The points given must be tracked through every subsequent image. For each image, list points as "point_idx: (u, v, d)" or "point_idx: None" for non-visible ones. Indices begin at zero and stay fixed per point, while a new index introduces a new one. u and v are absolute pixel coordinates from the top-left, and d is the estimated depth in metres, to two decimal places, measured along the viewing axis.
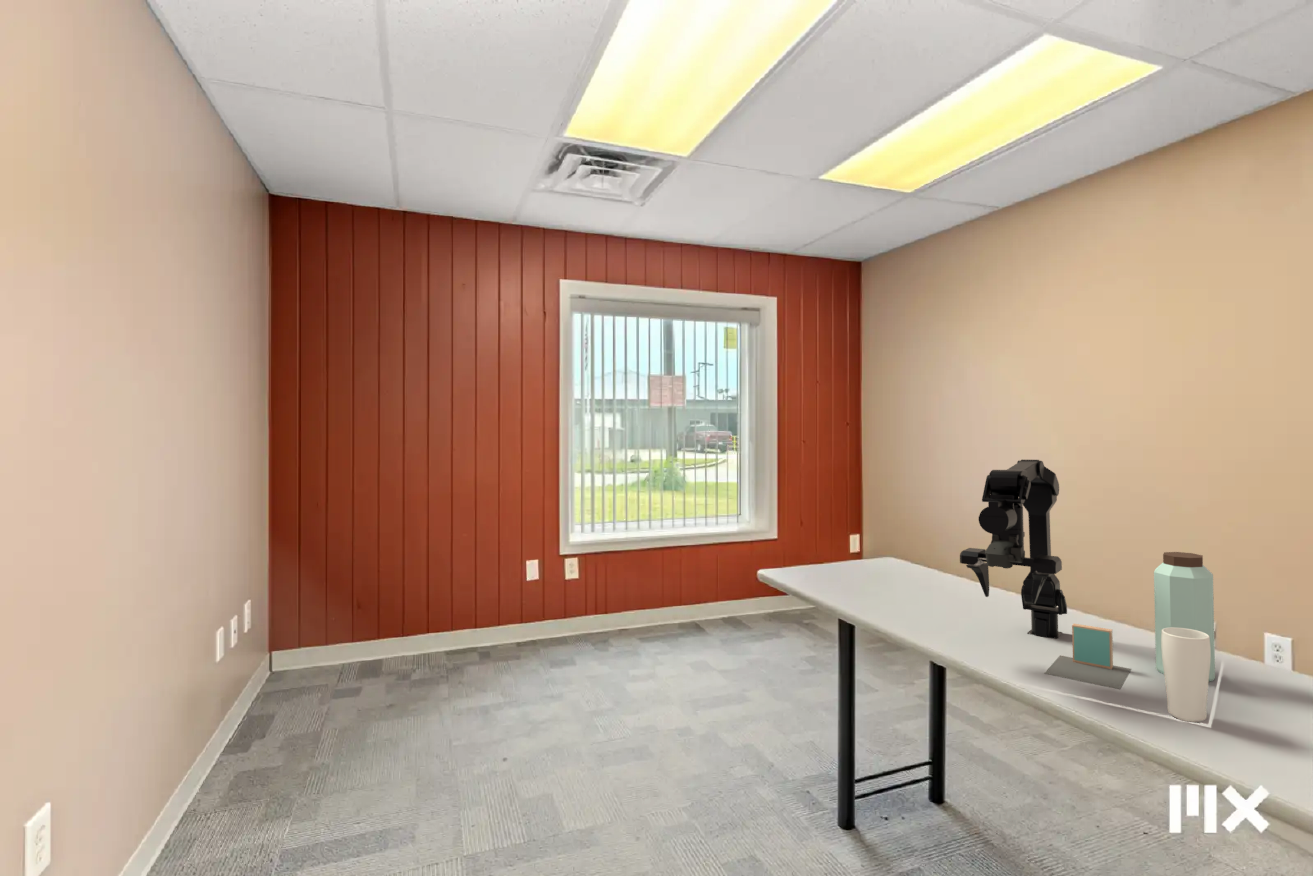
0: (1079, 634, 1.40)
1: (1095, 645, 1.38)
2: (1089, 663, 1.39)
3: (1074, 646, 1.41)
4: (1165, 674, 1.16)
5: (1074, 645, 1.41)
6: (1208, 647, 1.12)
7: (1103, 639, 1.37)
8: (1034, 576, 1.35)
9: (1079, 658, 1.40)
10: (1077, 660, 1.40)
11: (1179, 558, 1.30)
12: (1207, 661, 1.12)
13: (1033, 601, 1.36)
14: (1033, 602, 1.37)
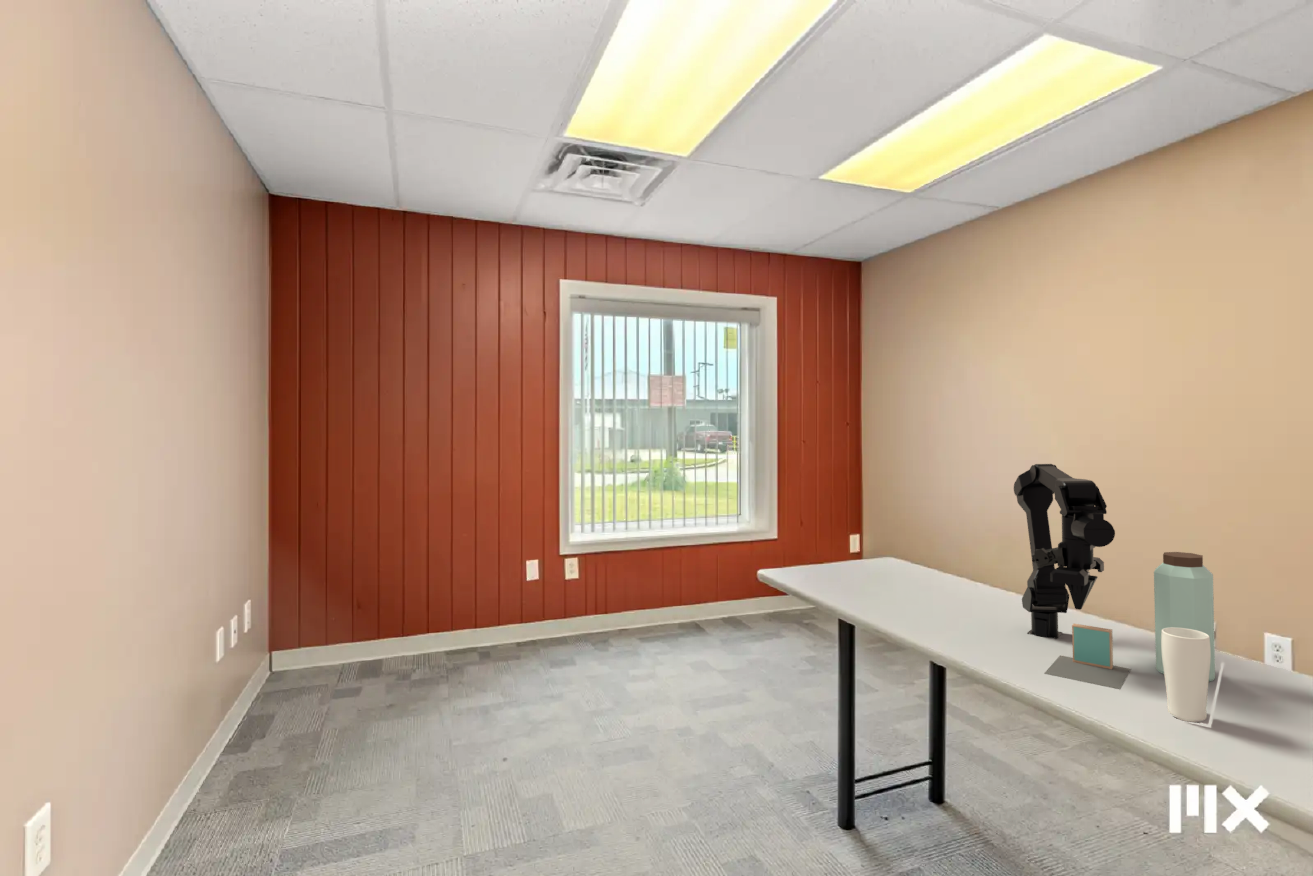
0: (1079, 634, 1.40)
1: (1095, 645, 1.38)
2: (1089, 663, 1.39)
3: (1074, 646, 1.41)
4: (1165, 674, 1.16)
5: (1074, 645, 1.41)
6: (1208, 647, 1.12)
7: (1103, 639, 1.37)
8: None
9: (1079, 658, 1.40)
10: (1077, 660, 1.40)
11: (1179, 558, 1.30)
12: (1207, 661, 1.12)
13: None
14: (1075, 607, 1.42)
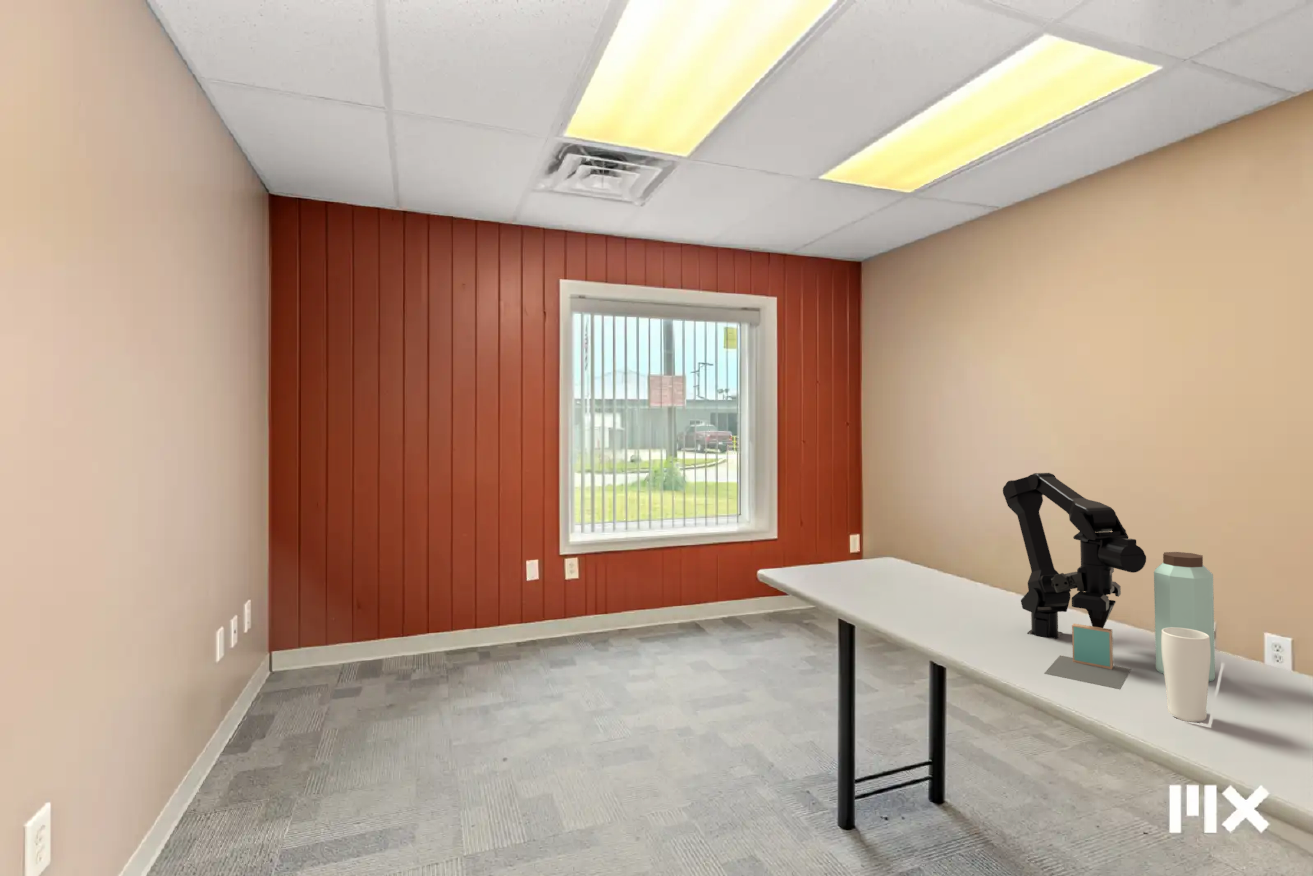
0: (1079, 634, 1.40)
1: (1095, 645, 1.38)
2: (1089, 663, 1.39)
3: (1074, 646, 1.41)
4: (1165, 674, 1.16)
5: (1074, 645, 1.41)
6: (1208, 647, 1.12)
7: (1103, 639, 1.37)
8: None
9: (1079, 658, 1.40)
10: (1077, 660, 1.40)
11: (1179, 558, 1.30)
12: (1207, 661, 1.12)
13: None
14: None
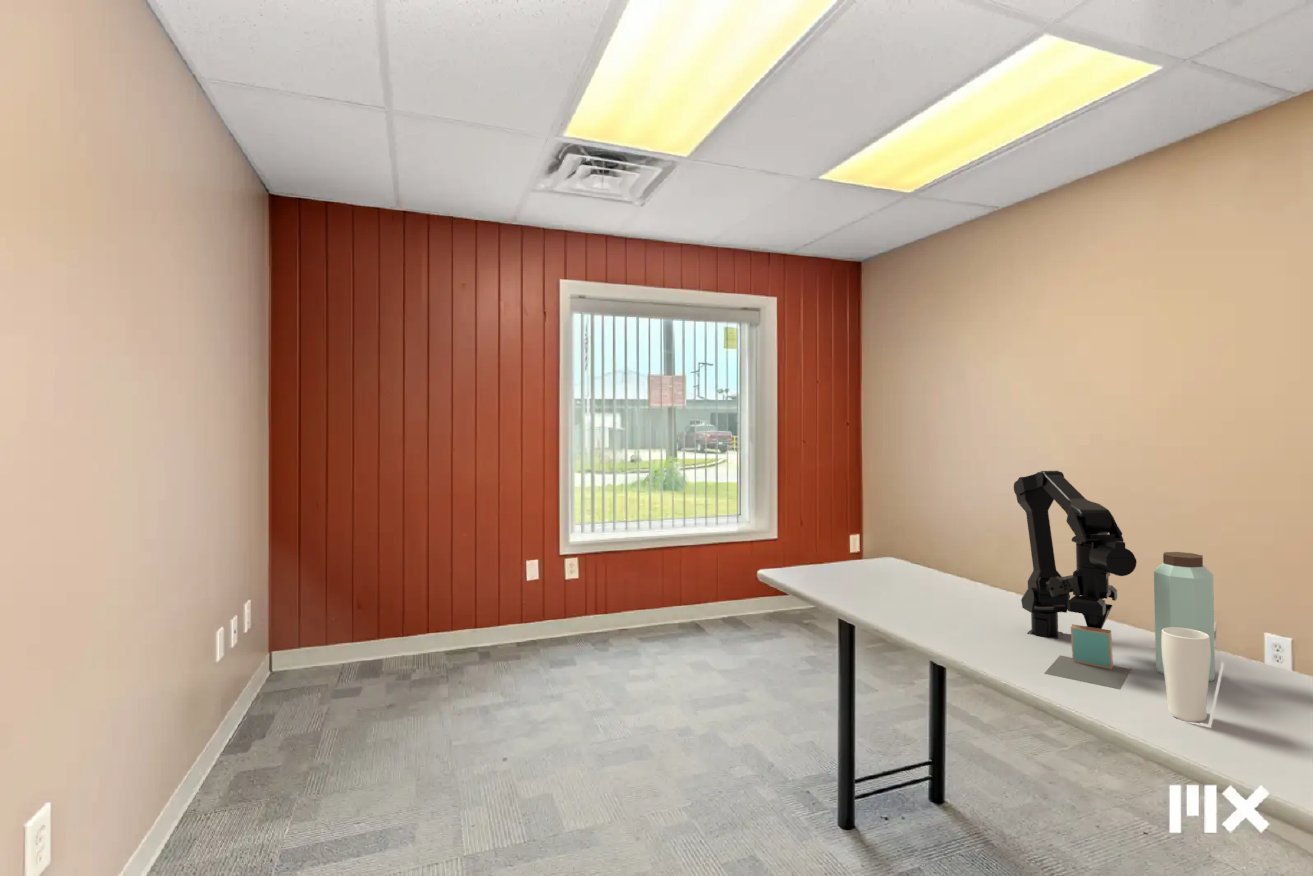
0: (1078, 636, 1.39)
1: (1094, 647, 1.37)
2: (1089, 663, 1.39)
3: (1073, 647, 1.40)
4: (1165, 674, 1.16)
5: (1073, 646, 1.40)
6: (1208, 647, 1.12)
7: (1102, 641, 1.36)
8: None
9: (1079, 659, 1.40)
10: (1077, 660, 1.40)
11: (1179, 558, 1.30)
12: (1207, 661, 1.12)
13: None
14: None
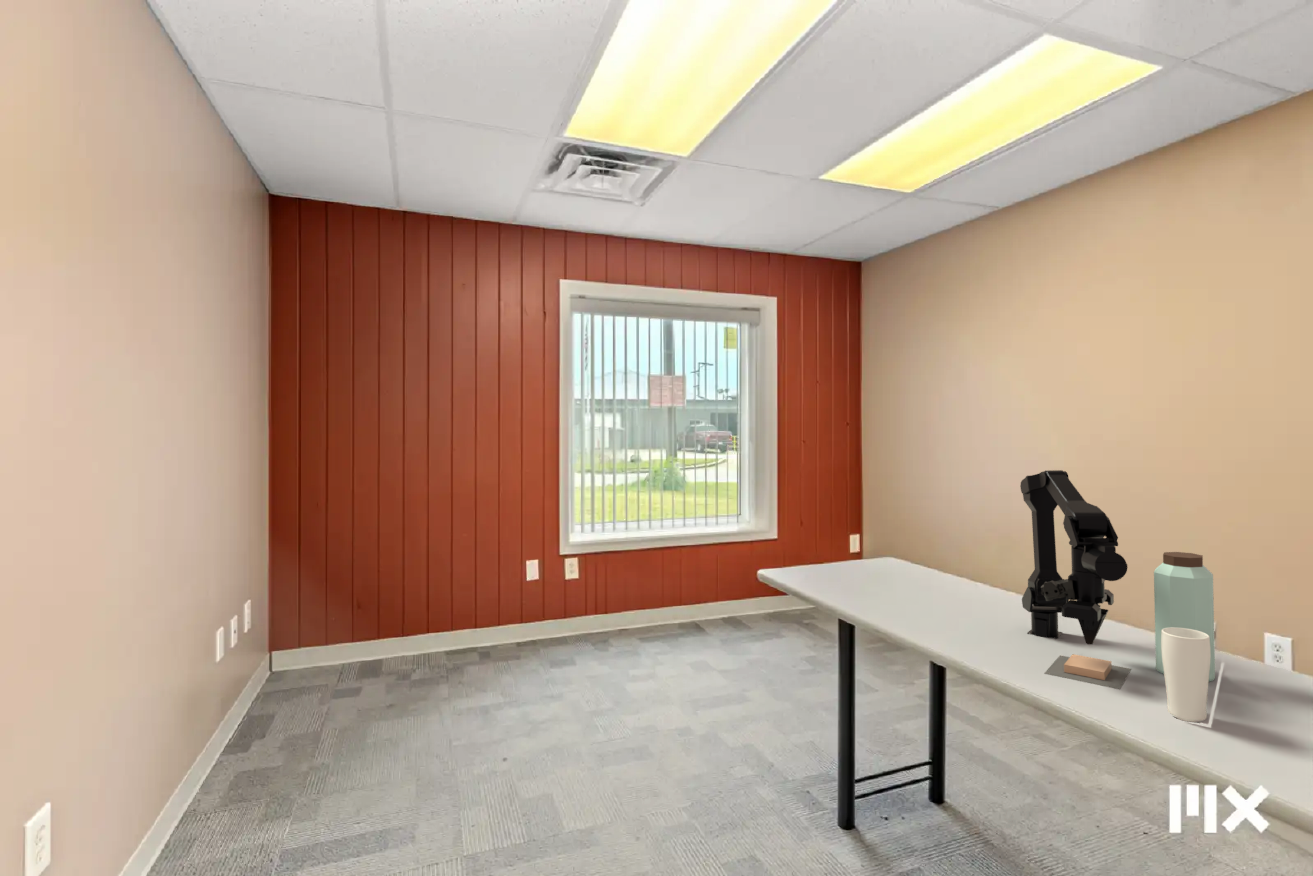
0: None
1: None
2: None
3: None
4: (1165, 674, 1.16)
5: None
6: (1208, 647, 1.12)
7: None
8: None
9: None
10: None
11: (1179, 558, 1.30)
12: (1207, 661, 1.12)
13: None
14: (1086, 642, 1.37)
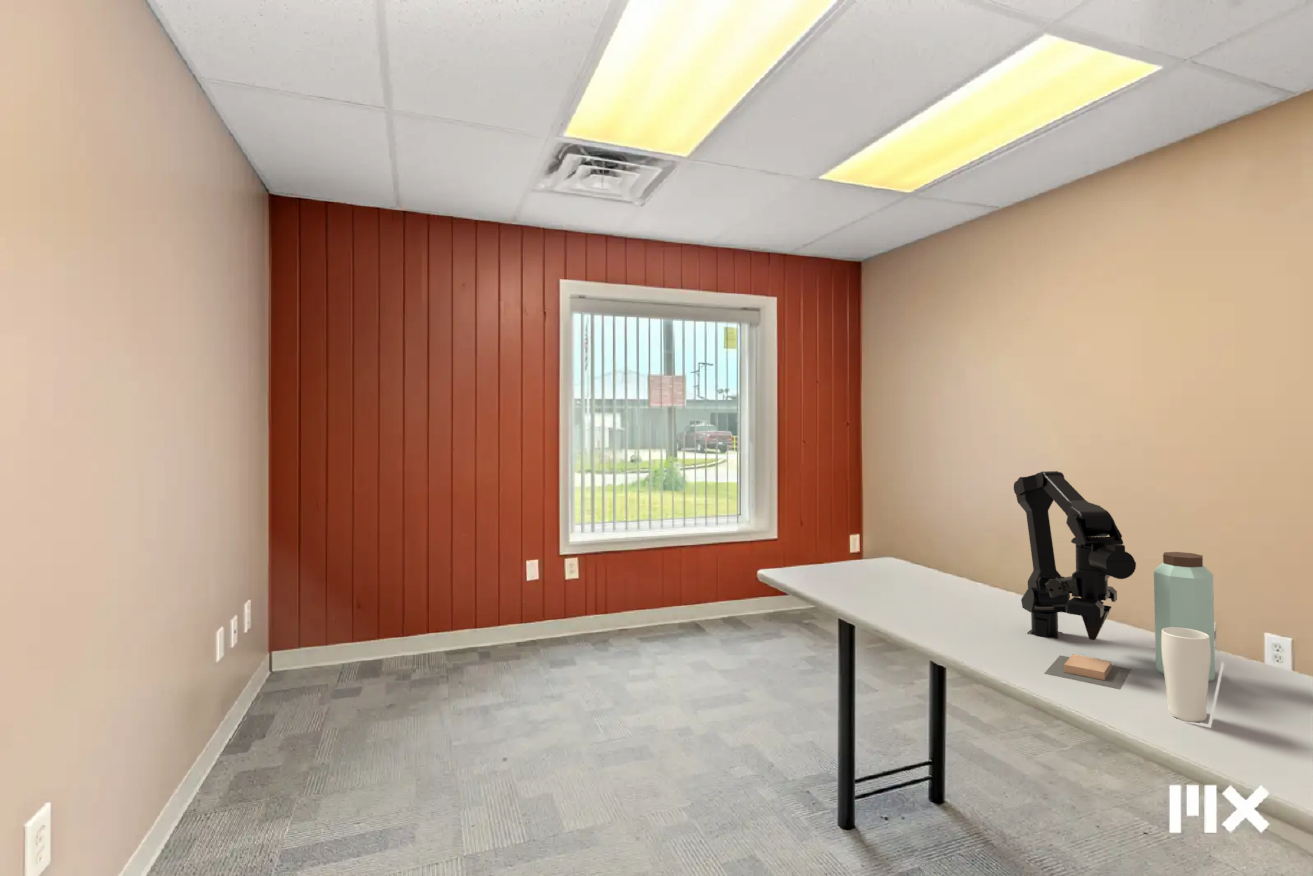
0: None
1: None
2: None
3: None
4: (1165, 674, 1.16)
5: None
6: (1208, 647, 1.12)
7: None
8: None
9: None
10: None
11: (1179, 558, 1.30)
12: (1207, 661, 1.12)
13: (1088, 636, 1.41)
14: (1089, 637, 1.41)
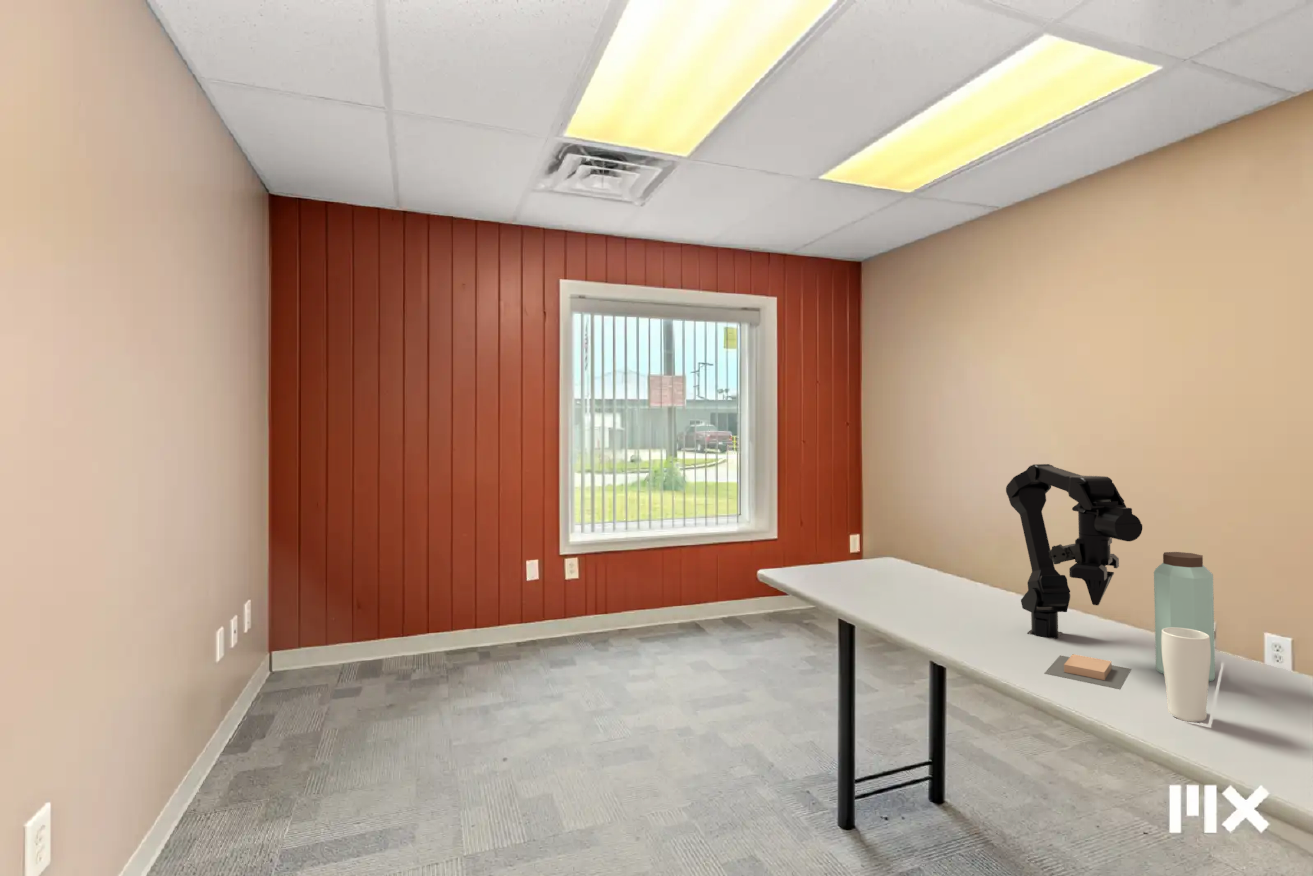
0: None
1: None
2: None
3: None
4: (1165, 674, 1.16)
5: None
6: (1208, 647, 1.12)
7: None
8: None
9: None
10: None
11: (1179, 558, 1.30)
12: (1207, 661, 1.12)
13: (1092, 602, 1.43)
14: (1092, 603, 1.42)
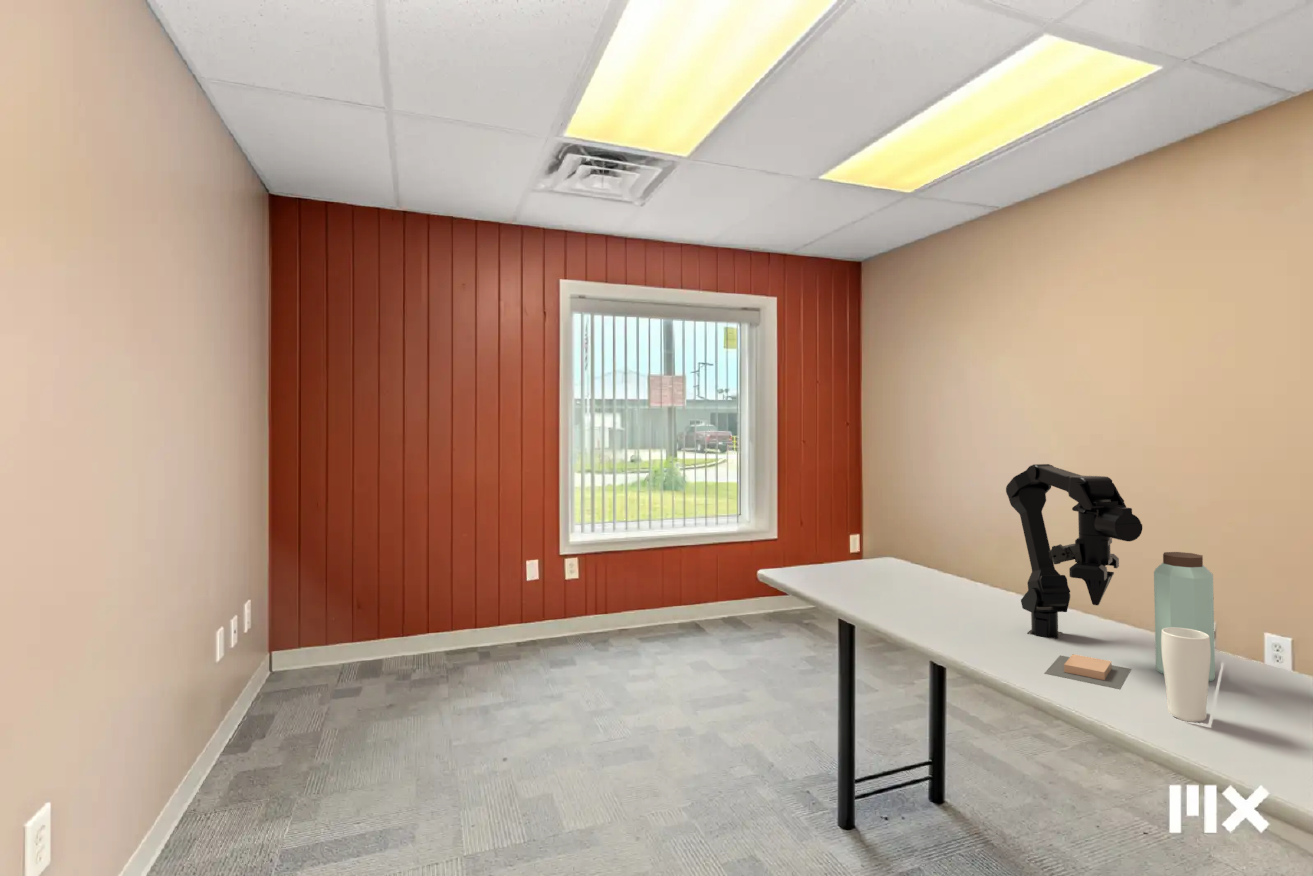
0: None
1: None
2: None
3: None
4: (1165, 674, 1.16)
5: None
6: (1208, 647, 1.12)
7: None
8: None
9: None
10: None
11: (1179, 558, 1.30)
12: (1207, 661, 1.12)
13: (1092, 602, 1.43)
14: (1092, 603, 1.42)
